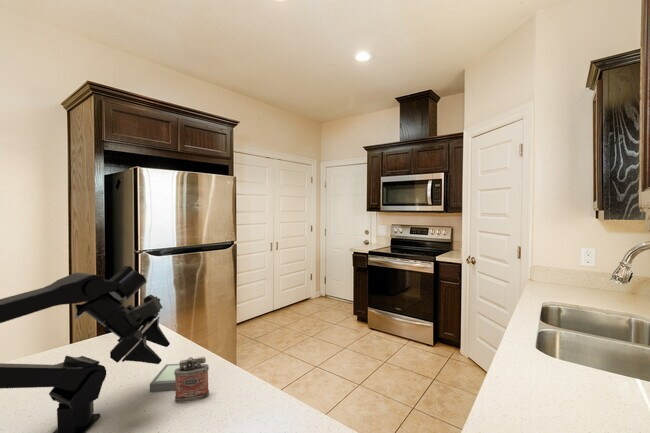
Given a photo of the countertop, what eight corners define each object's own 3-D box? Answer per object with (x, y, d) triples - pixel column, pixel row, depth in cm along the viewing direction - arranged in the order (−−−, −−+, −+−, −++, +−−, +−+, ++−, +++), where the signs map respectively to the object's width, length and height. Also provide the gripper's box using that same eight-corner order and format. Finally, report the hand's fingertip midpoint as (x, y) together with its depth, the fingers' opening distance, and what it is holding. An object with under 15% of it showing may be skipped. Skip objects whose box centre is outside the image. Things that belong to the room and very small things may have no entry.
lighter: (173, 404, 75) (172, 364, 75) (176, 395, 79) (175, 357, 78) (208, 398, 78) (207, 359, 77) (209, 390, 81) (209, 353, 80)
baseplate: (189, 389, 81) (188, 381, 81) (149, 391, 80) (149, 383, 80) (200, 369, 91) (200, 362, 91) (166, 371, 90) (165, 364, 90)
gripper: (125, 299, 65) (182, 343, 69) (149, 279, 83) (193, 315, 87) (83, 340, 63) (144, 384, 67) (117, 311, 81) (163, 346, 85)
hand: (164, 353), depth 76 cm, fingers open, 9 cm apart
